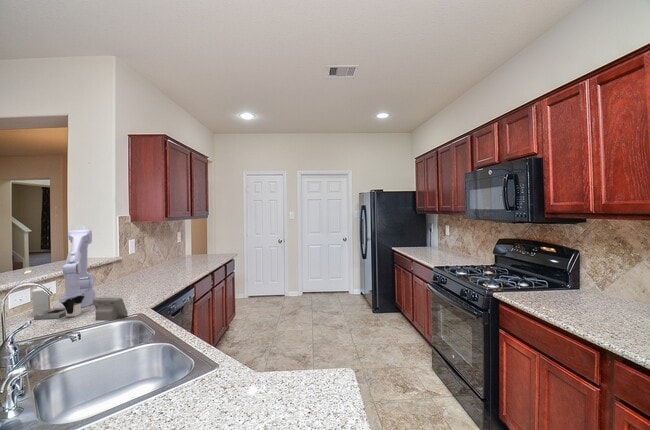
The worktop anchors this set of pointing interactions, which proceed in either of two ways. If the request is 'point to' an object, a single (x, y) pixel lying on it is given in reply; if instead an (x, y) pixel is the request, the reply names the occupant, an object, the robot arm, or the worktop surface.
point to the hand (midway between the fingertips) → (73, 312)
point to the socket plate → (51, 314)
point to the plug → (75, 310)
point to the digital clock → (109, 308)
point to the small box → (40, 301)
